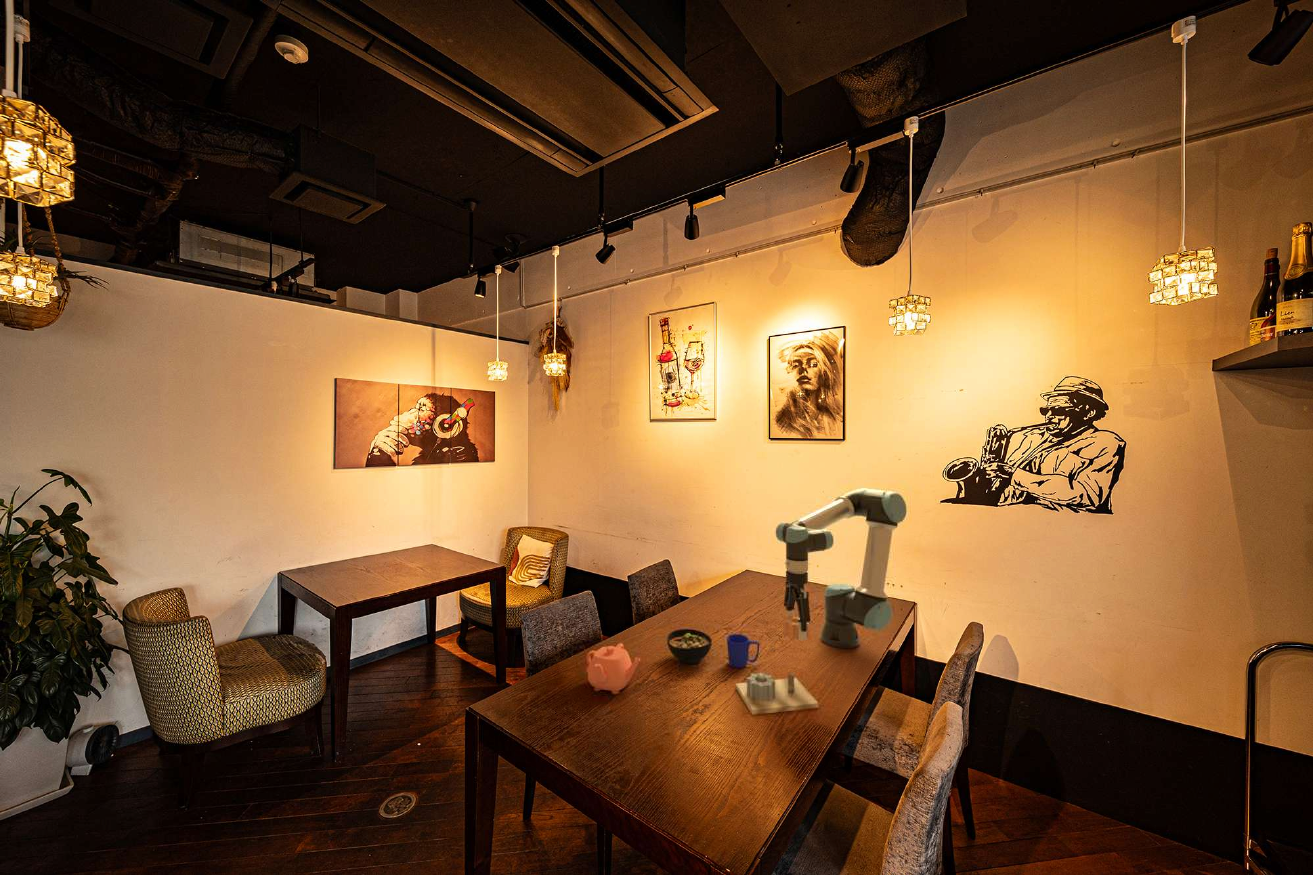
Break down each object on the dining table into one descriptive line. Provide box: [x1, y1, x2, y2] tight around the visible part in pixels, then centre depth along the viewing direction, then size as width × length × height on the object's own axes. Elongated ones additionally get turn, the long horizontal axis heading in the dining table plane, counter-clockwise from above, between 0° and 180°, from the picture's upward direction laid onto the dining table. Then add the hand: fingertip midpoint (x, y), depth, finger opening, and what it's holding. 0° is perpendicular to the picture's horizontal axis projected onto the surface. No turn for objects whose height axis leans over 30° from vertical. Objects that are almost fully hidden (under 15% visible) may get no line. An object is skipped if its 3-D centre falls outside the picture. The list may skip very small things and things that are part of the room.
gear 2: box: [783, 616, 810, 640], centre depth 173 cm, size 9×9×5 cm
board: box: [735, 673, 819, 716], centre depth 161 cm, size 22×16×7 cm
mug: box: [726, 633, 760, 669], centre depth 183 cm, size 8×12×10 cm
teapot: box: [586, 642, 641, 695], centre depth 168 cm, size 16×17×14 cm
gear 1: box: [746, 672, 776, 702], centre depth 160 cm, size 9×9×5 cm
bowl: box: [666, 628, 713, 667], centre depth 187 cm, size 17×17×10 cm
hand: (796, 634), depth 173 cm, fingers closed on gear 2, 9 cm apart
